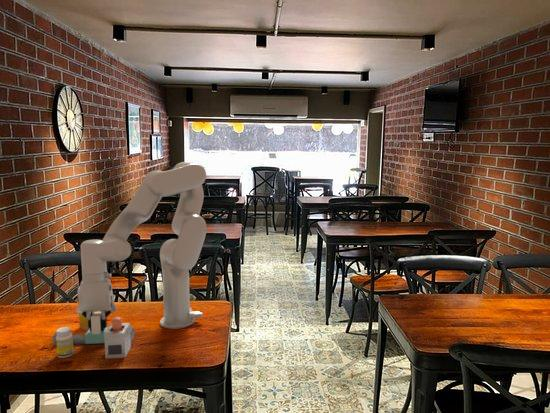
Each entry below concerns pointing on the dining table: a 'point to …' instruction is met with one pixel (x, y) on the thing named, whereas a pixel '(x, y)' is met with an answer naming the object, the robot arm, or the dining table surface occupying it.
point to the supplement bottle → (64, 342)
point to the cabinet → (117, 342)
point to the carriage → (95, 330)
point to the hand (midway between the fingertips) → (97, 329)
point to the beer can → (82, 319)
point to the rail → (81, 337)
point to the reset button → (117, 324)
